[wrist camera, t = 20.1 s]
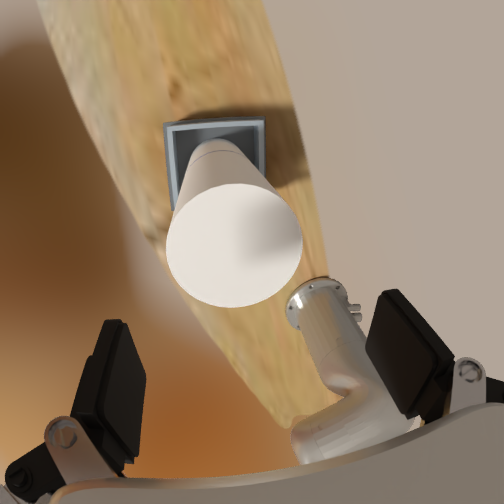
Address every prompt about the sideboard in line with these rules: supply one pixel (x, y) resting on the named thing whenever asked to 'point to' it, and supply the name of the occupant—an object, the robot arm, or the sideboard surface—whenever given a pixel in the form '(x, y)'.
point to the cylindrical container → (231, 230)
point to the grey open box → (199, 130)
